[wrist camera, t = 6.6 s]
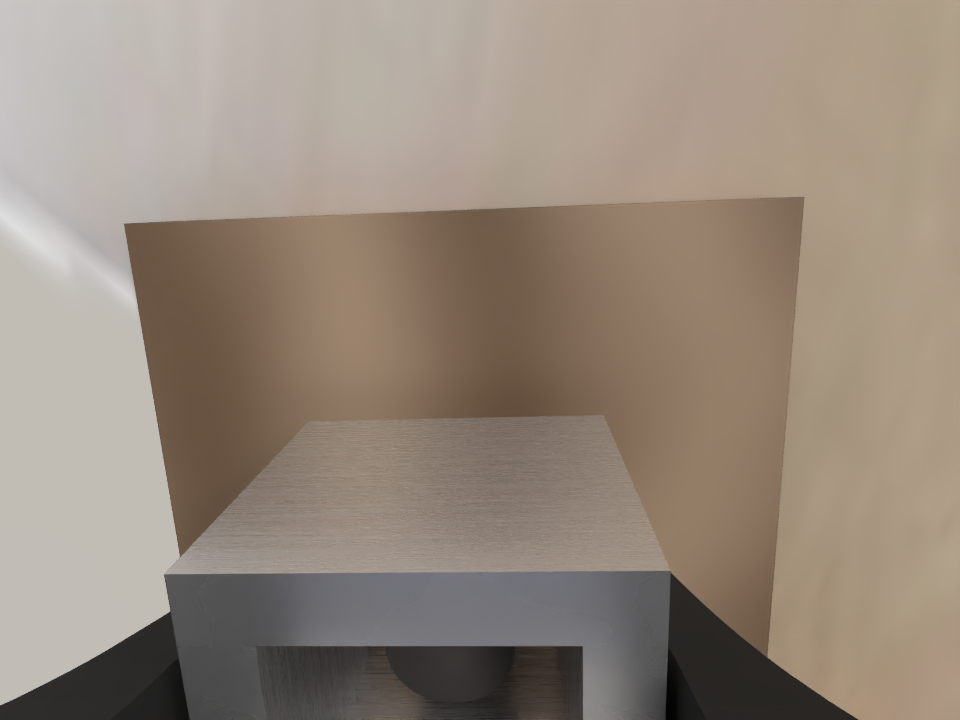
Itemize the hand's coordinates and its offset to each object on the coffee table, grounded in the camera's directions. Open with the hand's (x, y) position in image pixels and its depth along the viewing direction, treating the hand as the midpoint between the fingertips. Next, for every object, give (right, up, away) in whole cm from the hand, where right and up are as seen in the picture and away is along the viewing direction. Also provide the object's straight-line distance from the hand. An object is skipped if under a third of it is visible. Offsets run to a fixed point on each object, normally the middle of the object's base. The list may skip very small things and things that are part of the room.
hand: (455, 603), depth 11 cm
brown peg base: (0, +1, +4) cm, 4 cm away
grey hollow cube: (0, +1, +1) cm, 2 cm away
